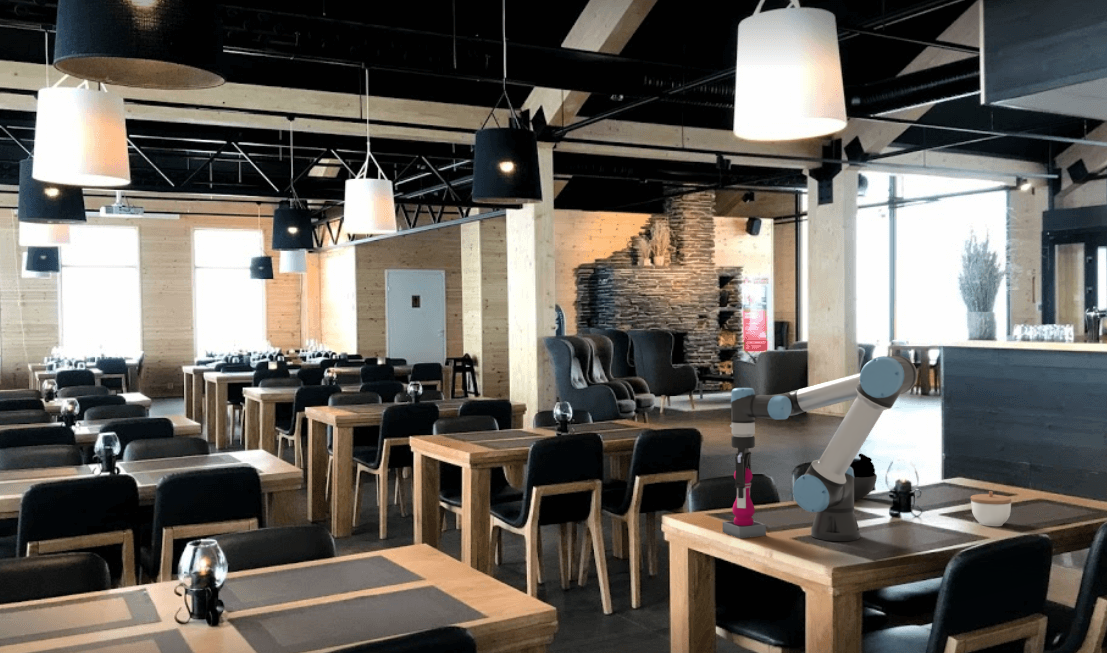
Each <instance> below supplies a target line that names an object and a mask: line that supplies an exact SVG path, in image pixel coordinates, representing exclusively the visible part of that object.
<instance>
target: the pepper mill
mask: <svg viewBox="0 0 1107 653" xmlns="http://www.w3.org/2000/svg"><path fill="white" fill-rule="evenodd" d="M733 478H734V479H735V481H736V469H735V470H734V474H733ZM753 478H754V477H753V472H752V469H751V470H750V469H748V468H746V474H745V488H746V508H737V496H736V498H735V501H734V502H733V505H732V514H733V515H734V518H733V521H734V524H735V525H740V526H750V525H753V521H754V518H753V516H754V514H755V512H756V510H755V508H756V507H755V506H754V504H753V501H752V498H751V487H752V484H751V483H750V481H752V480H753ZM749 491H750V492H749Z"/></svg>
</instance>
